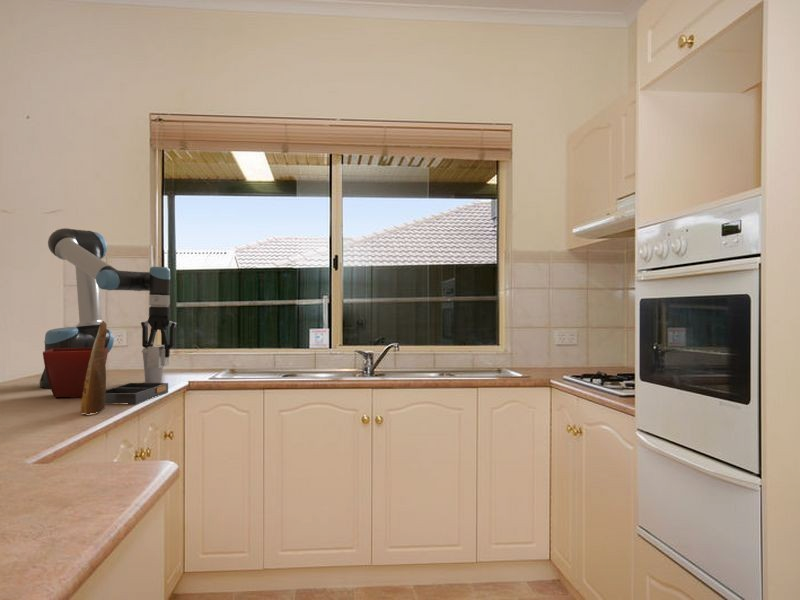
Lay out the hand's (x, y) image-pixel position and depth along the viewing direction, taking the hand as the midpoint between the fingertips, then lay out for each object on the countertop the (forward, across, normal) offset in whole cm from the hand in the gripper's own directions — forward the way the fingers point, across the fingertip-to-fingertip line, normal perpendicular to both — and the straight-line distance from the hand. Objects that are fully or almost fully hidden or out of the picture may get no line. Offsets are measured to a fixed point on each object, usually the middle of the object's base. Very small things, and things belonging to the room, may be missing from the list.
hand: (158, 365), depth 241 cm
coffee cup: (+10, -10, +19) cm, 23 cm away
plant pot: (+10, -22, -19) cm, 30 cm away
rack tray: (+9, 0, -23) cm, 25 cm away
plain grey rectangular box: (0, 0, 0) cm, 0 cm away
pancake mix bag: (+9, +1, -50) cm, 51 cm away
